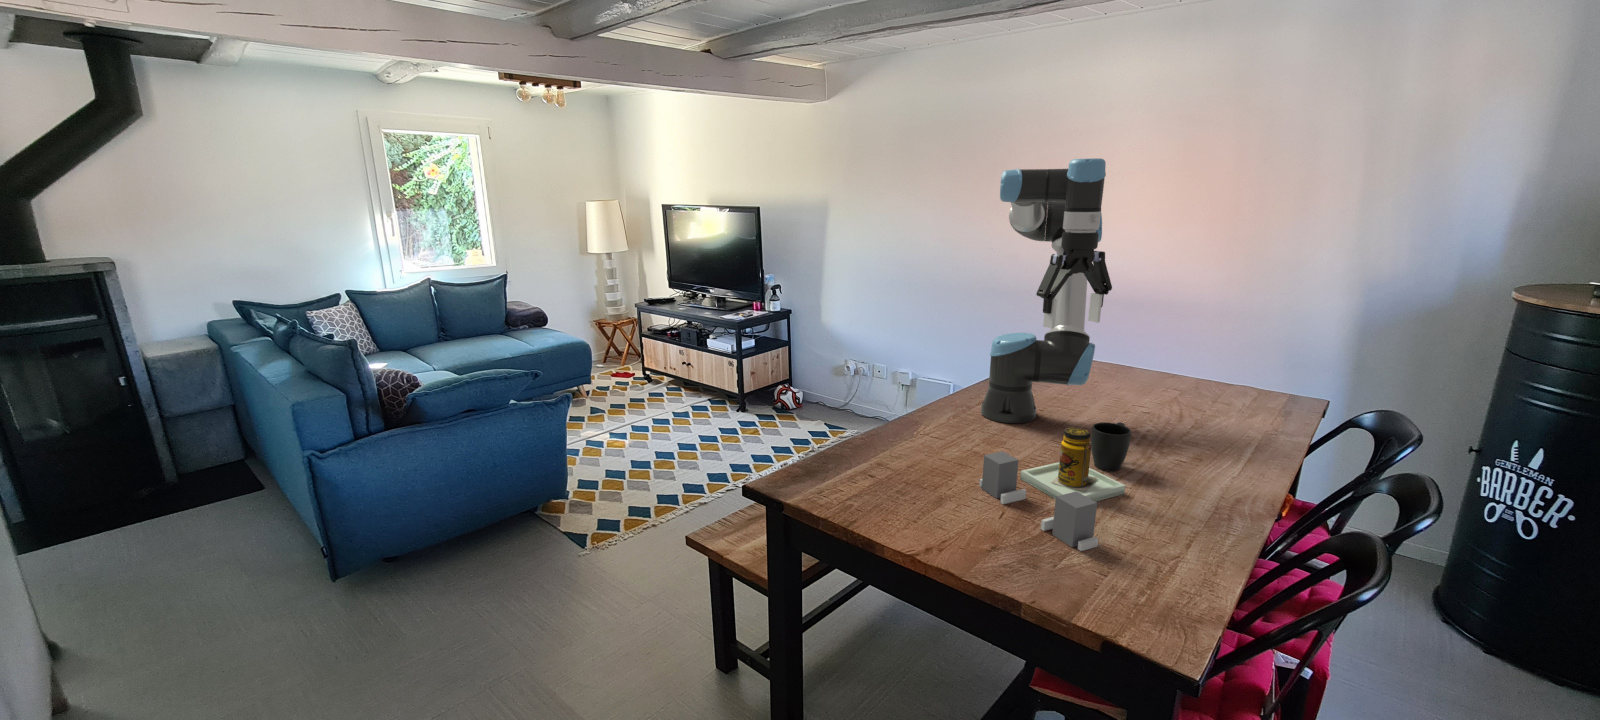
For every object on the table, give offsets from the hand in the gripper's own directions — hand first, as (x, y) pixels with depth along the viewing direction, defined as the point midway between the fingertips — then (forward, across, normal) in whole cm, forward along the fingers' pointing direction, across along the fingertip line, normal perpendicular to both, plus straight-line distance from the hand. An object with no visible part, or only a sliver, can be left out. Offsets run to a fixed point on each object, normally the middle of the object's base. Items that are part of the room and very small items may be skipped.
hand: (1071, 324), depth 152 cm
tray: (+32, -10, -14) cm, 37 cm away
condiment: (+32, -9, -14) cm, 36 cm away
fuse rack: (+32, -26, -20) cm, 46 cm away
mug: (+33, +7, -9) cm, 35 cm away
